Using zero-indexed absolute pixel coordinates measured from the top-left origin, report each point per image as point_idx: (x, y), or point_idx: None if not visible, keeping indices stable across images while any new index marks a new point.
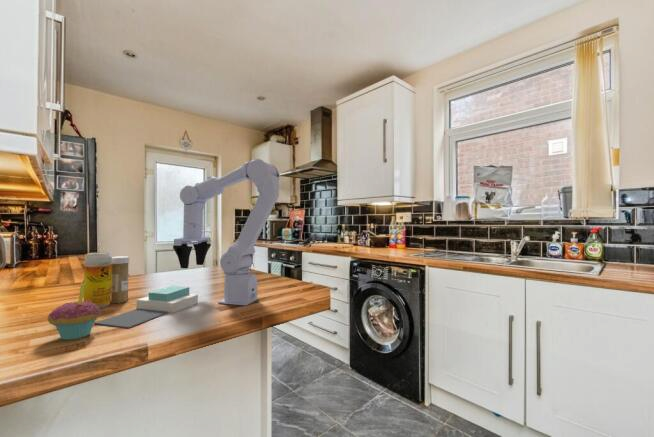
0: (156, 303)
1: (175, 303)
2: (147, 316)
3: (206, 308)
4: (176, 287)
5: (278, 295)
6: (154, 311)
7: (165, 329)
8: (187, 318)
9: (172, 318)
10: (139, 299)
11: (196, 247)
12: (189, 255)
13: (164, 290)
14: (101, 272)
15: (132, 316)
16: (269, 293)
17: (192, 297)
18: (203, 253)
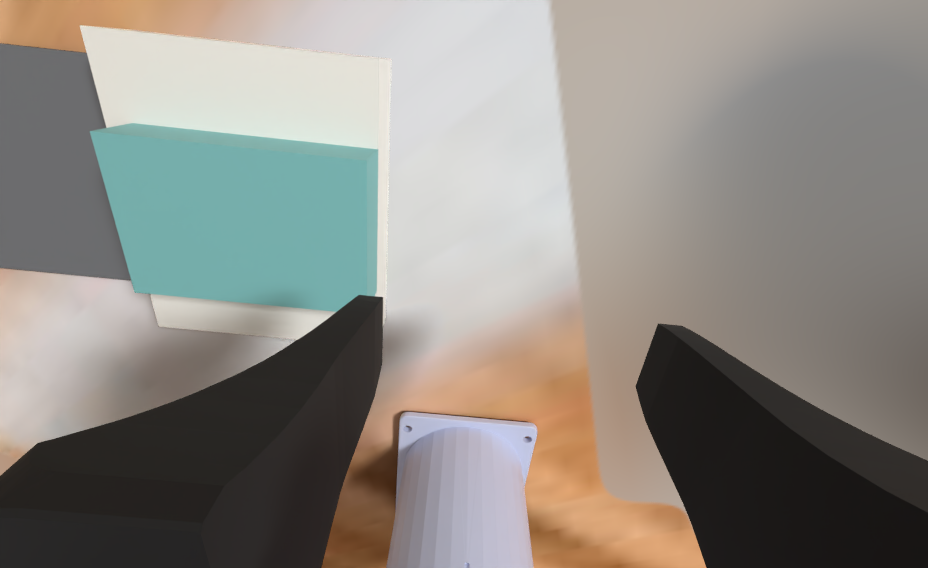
0: None
1: (178, 326)
2: (60, 235)
3: None
4: (323, 232)
5: (596, 563)
6: None
7: (28, 389)
8: (164, 394)
9: (129, 342)
10: (96, 44)
11: (852, 542)
12: (325, 523)
13: (202, 208)
14: None
15: (8, 156)
16: (632, 530)
17: None
18: (704, 533)
